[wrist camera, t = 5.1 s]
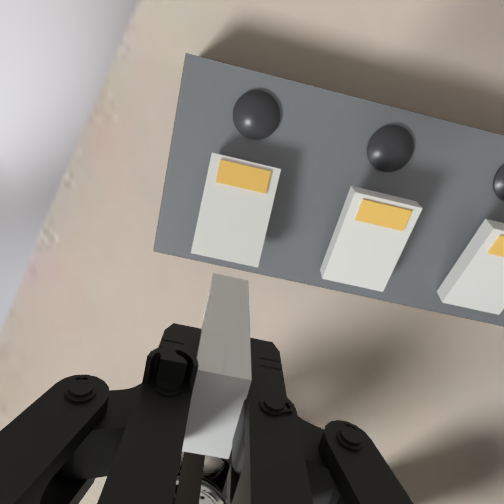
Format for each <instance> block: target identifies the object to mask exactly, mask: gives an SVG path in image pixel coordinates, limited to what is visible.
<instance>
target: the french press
mask: <svg viewBox="0 0 504 504" xmlns="http://www.w3.org/2000/svg"><path fill="white" fill-rule="evenodd" d="M204 459H205V455H201V454H195V453H190V452H184V457H183V462H182V467H181V472H178V476H177V481H176V487H175V492H174V498H173V504H226V497H227V493H226V497H222V492H223V489H224V485H225V482H226V478H227V475H228V472H229V468H230V465H231V462H232V449H231V453H230V456H229V459H225V458H221V459H222V460H223V461H224V462H225V463H224V465H223V467H222V469H221V470H220V471H219V473H217V474H216V475H215V476H214V477H212V478H210V479H206V478H204V477H202V475H203V467H204Z"/></svg>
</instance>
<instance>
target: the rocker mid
mask: <svg viewBox="0 0 504 504" xmlns="http://www.w3.org/2000/svg"><path fill="white" fill-rule="evenodd" d="M422 209H423V208H422V207H421V206H420V205H419V204H418V203H417V202H416V201H413V200H409V199H405V198H400V197H396V196H392V195H388V194H384V193H380V192H375V191H371V190H367V189H363V188H359V187H354V186H351V187H350V190H349V193H348V195H347V198H346V201H345V203H344V206H343V209H342V212H341V214H340V217H339V220H338V222H337V225H336V228H335V230H334V233H333V236H332V239H331V241H330V244H329V247H328V249H327V252H326V255H325V257H324V260H323V263H322V266H321V268H320V272H321V276H322V279H326V280H330V281H335V282H339V283H344V284H349V285H353V286H358V287H363V288H367V289H372V290H376V291H381V292H383V291H384V289H385V287H386V284H387V282H388V280H389V278H390V276H391V274H392V272H393V270H394V268H395V265H396V263H397V261H398V259H399V257H400V255H401V253H402V251H403V249H404V247H405V244H406V242H407V240H408V238H409V236H410V234H411V232H412V230H413V228H414V225H415V223H416V221H417V219H418V217H419V215H420V213H421V211H422Z"/></svg>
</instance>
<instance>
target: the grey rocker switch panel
mask: <svg viewBox="0 0 504 504" xmlns="http://www.w3.org/2000/svg"><path fill="white" fill-rule="evenodd" d="M212 153H216V154H220V155H224V156H228V157H233V158H237V159H241V160H245V161H249V162H254V163H258V164H262V165H266V166H270V167H274V168H279V169H281V172H280V176H279V180H278V184H277V189H276V193H275V197H274V201H273V206H272V210H271V214H270V219H269V223H268V227H267V231H266V236H265V240H264V244H263V248H262V253H261V257H260V261H259V265H258V268H257V267H253V266H248V265H243V264H239V263H234V262H230V261H225V260H220V259H216V258H211V257H206V256H202V255H197V254H192V253H191V249H192V245H193V240H194V235H195V230H196V226H197V221H198V216H199V211H200V206H201V202H202V197H203V192H204V187H205V183H206V178H207V173H208V168H209V163H210V159H211V154H212ZM351 186H354V187H359V188H363V189H367V190H371V191H375V192H380V193H384V194H388V195H392V196H396V197H400V198H405V199H409V200H413V201H416V202H417V203H418V204H419V205H420V206H421V207H422V208H423V209H422V211H421V213H420V215H419V217H418V219H417V221H416V223H415V225H414V228H413V230H412V232H411V234H410V236H409V238H408V240H407V242H406V244H405V247H404V249H403V251H402V253H401V255H400V257H399V259H398V261H397V263H396V265H395V268H394V270H393V272H392V274H391V276H390V278H389V280H388V282H387V284H386V287H385V289H384V291H383V292H381V291H376V290H372V289H367V288H363V287H358V286H353V285H349V284H344V283H339V282H335V281H330V280H326V279H322V276H321V272H320V268H321V266H322V263H323V260H324V257H325V255H326V252H327V249H328V247H329V244H330V241H331V239H332V236H333V233H334V230H335V228H336V225H337V222H338V220H339V217H340V214H341V212H342V209H343V206H344V203H345V201H346V198H347V195H348V193H349V190H350V187H351ZM485 219H489V220H493V221H497V222H501V223H504V135H500V134H496V133H492V132H488V131H484V130H481V129H477V128H473V127H469V126H465V125H461V124H457V123H454V122H450V121H446V120H442V119H438V118H434V117H430V116H427V115H423V114H419V113H415V112H411V111H407V110H404V109H400V108H396V107H392V106H388V105H384V104H380V103H377V102H373V101H369V100H365V99H361V98H357V97H353V96H350V95H346V94H342V93H338V92H334V91H330V90H326V89H323V88H319V87H315V86H311V85H307V84H303V83H299V82H296V81H292V80H288V79H284V78H280V77H276V76H272V75H269V74H265V73H261V72H257V71H253V70H249V69H245V68H242V67H238V66H234V65H230V64H226V63H222V62H218V61H215V60H211V59H207V58H203V57H199V56H195V55H192V54H188V53H186V55H185V61H184V67H183V73H182V79H181V85H180V91H179V97H178V104H177V110H176V116H175V122H174V128H173V134H172V140H171V146H170V152H169V158H168V164H167V170H166V177H165V183H164V189H163V195H162V201H161V207H160V213H159V219H158V225H157V231H156V237H155V243H154V250H153V251H154V252H159V253H164V254H168V255H173V256H178V257H182V258H187V259H192V260H196V261H201V262H206V263H210V264H215V265H220V266H224V267H229V268H234V269H238V270H243V271H248V272H252V273H257V274H262V275H266V276H271V277H276V278H280V279H285V280H290V281H294V282H299V283H304V284H308V285H313V286H317V287H322V288H327V289H331V290H336V291H341V292H345V293H350V294H355V295H359V296H364V297H369V298H373V299H378V300H383V301H387V302H392V303H397V304H401V305H406V306H411V307H415V308H420V309H425V310H429V311H434V312H439V313H443V314H448V315H453V316H457V317H462V318H467V319H471V320H476V321H481V322H485V323H490V324H495V325H499V326H504V309H503V311H502V312H501V313H500V314H499V315H497V314H493V313H488V312H483V311H479V310H474V309H470V308H465V307H460V306H456V305H451V304H447V303H442V301H441V299H440V297H439V295H438V293H437V290H438V289H439V287H440V286H441V284H442V283H443V281H444V280H445V278H446V277H447V275H448V274H449V272H450V271H451V269H452V268H453V266H454V265H455V263H456V262H457V260H458V259H459V257H460V256H461V254H462V253H463V251H464V250H465V248H466V247H467V245H468V244H469V242H470V241H471V239H472V238H473V236H474V235H475V233H476V232H477V230H478V229H479V227H480V226H481V224H482V223H483V221H484V220H485Z"/></svg>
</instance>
